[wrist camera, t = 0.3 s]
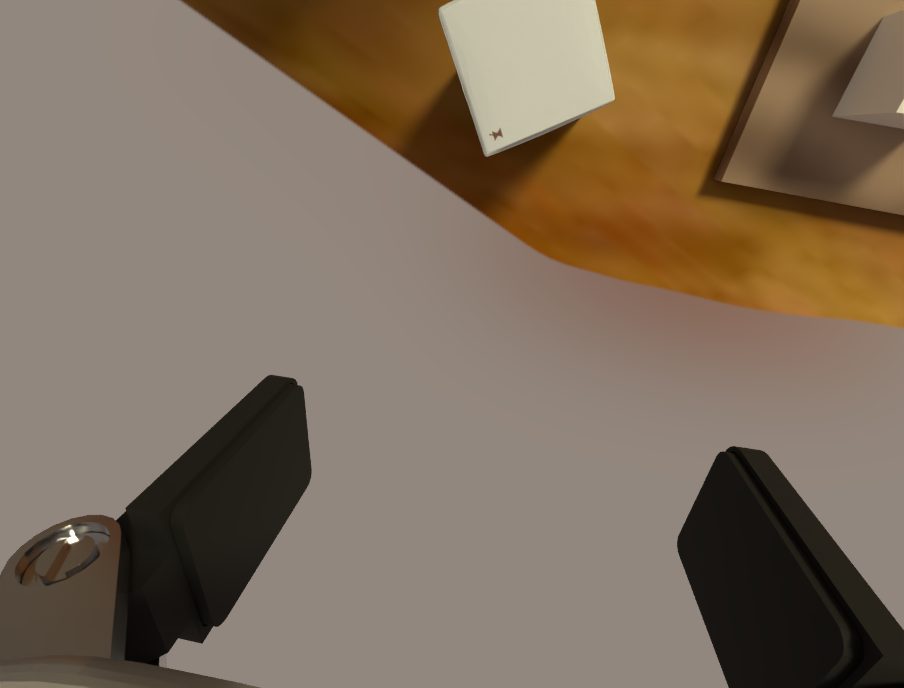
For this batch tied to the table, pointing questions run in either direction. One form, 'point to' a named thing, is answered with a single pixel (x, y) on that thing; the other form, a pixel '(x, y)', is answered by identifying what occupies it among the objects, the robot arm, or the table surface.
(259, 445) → the robot arm
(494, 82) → the supplement box
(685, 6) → the table surface
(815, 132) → the tan square base plate
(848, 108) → the cream cube
